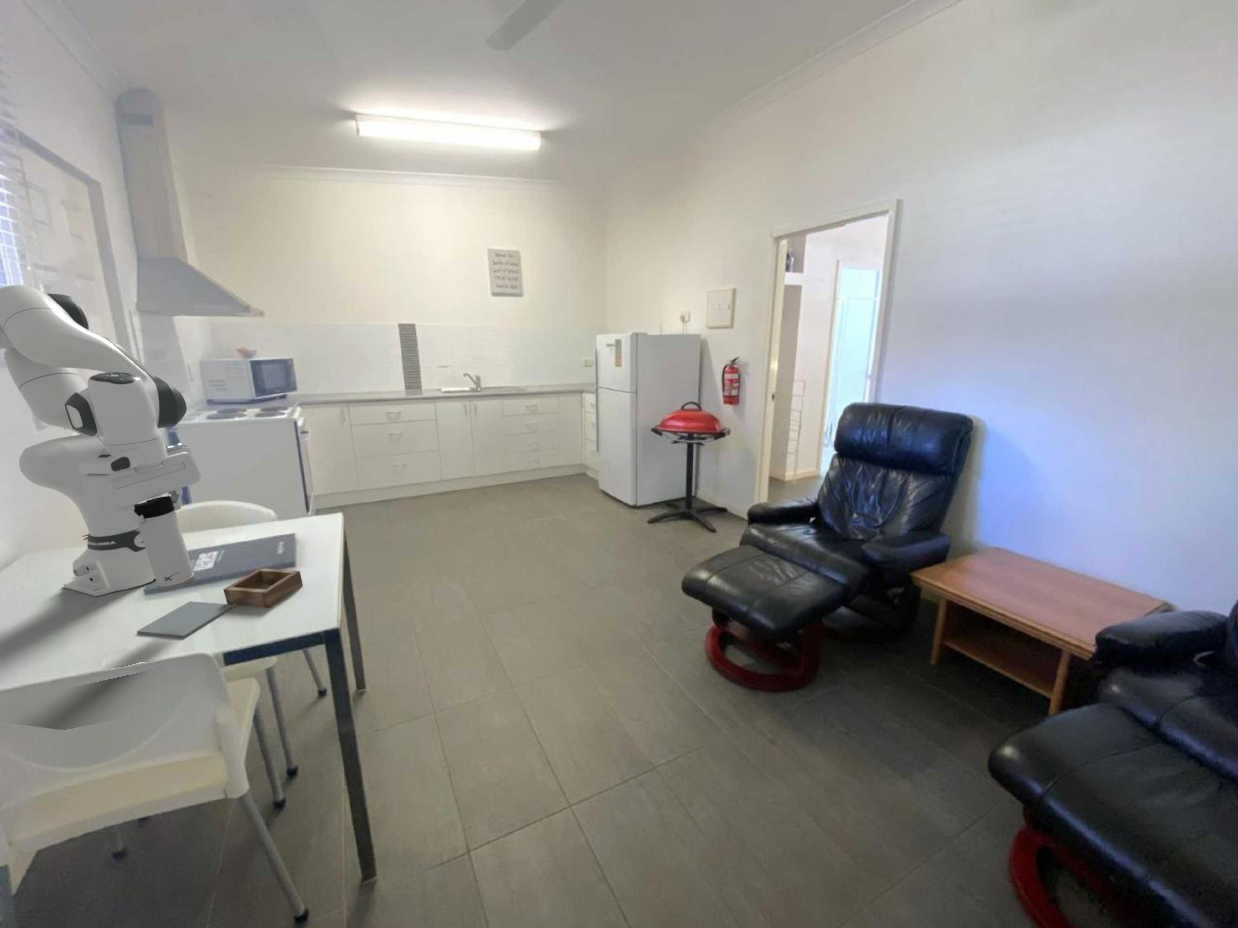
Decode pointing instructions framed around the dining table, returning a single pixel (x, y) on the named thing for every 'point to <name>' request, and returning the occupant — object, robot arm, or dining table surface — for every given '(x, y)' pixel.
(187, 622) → the slate mat
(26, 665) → the dining table surface
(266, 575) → the walnut tray
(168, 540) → the travel mug
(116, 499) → the robot arm
